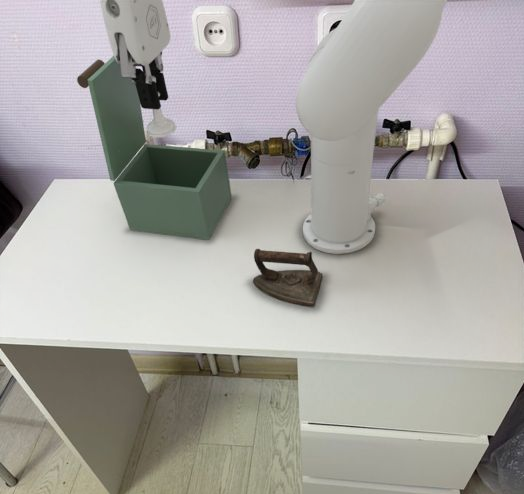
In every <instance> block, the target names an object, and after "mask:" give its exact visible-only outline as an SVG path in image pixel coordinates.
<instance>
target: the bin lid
mask: <svg viewBox="0 0 524 494" xmlns="http://www.w3.org/2000/svg"><path fill="white" fill-rule="evenodd" d="M76 82H77V84H78V85H79V87H81V88H82V89H87V88H88V89H89V94H90V99H91V102H92V107H93V110H94V115H95V119H96V123H97V128H98V132H99V137H100V141H101V146H102V150H103V155H104V159H105V163H106V167H107V172H108V176H109V180H110V181H112V182H115V181H116V179H117V178H118V177H119V176H120V175H121V173H122V172H123V171H124V170H125V168H126V167H127V166H128V165H129V163H130V162H131V161H132V160H133V158H134V157H135V156H136V155H137V153H138V152H139V151H140V150H141V148H142V147H143V146H144V145H145V144H147V140H146V133H145V126H144V119H143V113H142V107H141V104H140V100H139V96H138V93H137V89H136V85H135V83H133V82H132V79H131V78H125V77H122V74H121V64H119V63H118V62H117V61H116V59H115V57H114V55H113V56H112V57H111V58H109V60H107V61H106V62H104V61H103V60H102V59H96V60H95V61H94V62H93V63H92V64H91V65H89V66H88V67H87V68H86V69H85V70H84V71H83V72H81V74H79V75H78V76H77V78H76Z"/></svg>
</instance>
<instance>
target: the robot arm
mask: <svg viewBox="0 0 524 494" xmlns="http://www.w3.org/2000/svg"><path fill="white" fill-rule="evenodd" d="M447 1H448V0H354V1H353V3H352V4H351V6H350V7H349V8H348V10H347V12H346V13H345V14H344V16H343V18H342V19H341V20H340V22H339V24H338V25H337V27H335V28H333V29H332V30H331V31H329V32H328V33H327V34H326V35H325V36H324V37H323V38H322V39H321V40H320V42H319V44H318V45H317V46H316V48H315V49H314V52H313V54H312V56H311V57H310V59H309V61H308V63H307V66H306V68H305V70H304V73H303V74H302V75H301V78H300V80H299V83H298V85H297V90H296V94H295V109H296V114H297V117H298V120H299V122H300V124H301V126H302V127H303V128H304V130H305V131H306V133H308V134H309V135H310V186H311V187H310V191H311V192H310V194H311V197H310V199H311V200H310V203H311V207H310V208H311V212H310V213H309V215H307V216H306V218H305V219H304V221H303V224H302V234H303V238H304V240H305V241H306V242H307V244H308V245H310V246H311V247H312V248H313V249H316V250H318V251H320V252H324V253H326V254H327V253H328V254H333V255H342V254H343V255H344V254H350V253H354V252H357V251H361V249H363V248H365V247H366V246H367V245H369V244H370V243H371V242H372V240H373V239H374V236H375V234H376V233H375V232H376V223H375V219H373V217H372V216H371V214H372V213H373V212H374V210H375V208H378V207H380V206H381V205H383V204H384V203H385V202H386V197H385V195H384V193H382V192H378V193H376V194H374V195H373V196H372V197H370V193H371V185H372V184H371V183H372V174H373V173H372V172H373V162H374V151H375V144H376V135H377V124H378V118H379V117H378V116H379V109H380V108H381V107H382V106H383V105H384V104H385V103H386V102H387V100H388V99H389V98H390V97H391V96H392V95H393V93H395V91H396V90H397V89H398V88H399V87H400V86H401V84H402V83H403V82H404V81H405V80H406V79H407V78H408V77H409V75H410V74H411V73H412V72H413V71H414V70H415V68H417V66H418V64H420V63H421V61H422V60H423V59H424V57H425V55H426V54H427V53H428V51H429V49H430V48H431V46H432V44H433V42H434V40H435V38H436V36H437V34H438V31H439V29H440V25H441V21H442V17H443V11H444V9H445V6H446V4H447ZM99 2H100V3H99V4H100V8H101V12H102V16H103V22H104V26H105V31H106V34H107V38H108V41H109V45H110V48H111V51H112V54H113V56H114V57H115V59H116V61H117V62H118V63H119V64H121V74H122V77H125V78H131V79H132V82H133V83H135V85H136V89H137V93H138V96H139V100H140V105H141V109H145V110H153V109H160V108H161V107H162V104H161V101H164V102H165V101H168V99H169V93H168V89H167V85H166V80H165V79H166V78H165V76H164V63H163V59H162V57H163V51H164V49H166V47H167V46H168V45H169V43H170V42H171V31H170V27H169V23H168V22H169V21H168V18H167V14H166V10H165V6H164V2H163V0H99ZM138 67H141V68H142V69H141V68H138ZM152 76H154V77H155V78H156V83H155V81H152ZM158 92H159V94H160V96H159V95H158Z"/></svg>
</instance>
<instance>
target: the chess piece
mask: <svg viewBox="0 0 524 494" xmlns="http://www.w3.org/2000/svg"><path fill="white" fill-rule="evenodd" d="M152 81H155V83H156V78H155V77H154V76H152ZM158 95H159V96H160V94H159V92H158ZM152 114H153V115H152V116H153V117H152V118H153V119H152V121H150V122H149V123H148V124H147V125H146V127H145V128H146V134H147V135H148V136H149V137H152V138H166V137H168V136H170V135H173V134H174V133H175V132H176V130H177V125H176V122H175V121H174V120H173V119H172V118H167V117H165V116H164V114H163V111H162V109H161V107H160V109H152Z"/></svg>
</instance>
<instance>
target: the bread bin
mask: <svg viewBox="0 0 524 494" xmlns="http://www.w3.org/2000/svg"><path fill="white" fill-rule="evenodd" d="M113 186H114V190H115V192H116V194H117V195H116V196H117V197H118V200H119V203H120V206H121V209H122V212H123V214H124V217H125V220H126V223H127V225H128V228H129V230H130V231H133V232H142V233H149V234H158V235H166V236H172V237H173V236H174V237H181V238H189V239H197V240H203V241H210V240H211V237H212V236H213V234H214V232H215V230H216V228H217V227H218V225H219V223H220V221H221V219H222V218H223V215H224V214H225V212H226V210H227V209H228V206H229V204H230V203H231V201H232V199H233V196H232V189H231V183H230V176H229V169H228V163H227V157H226V150H223V149H214V148H213V149H211V148H201V147H200V148H199V147H188V146H187V147H186V146H174V145H161V144H149V143H145V144H144V145H143V146H142V148H141V149H140V150H139V151H138V153H137V154H136V155H135V156H134V157H133V159H132V160H131V161H130V162H129V164H128V165H127V166H126V167H125V169H124V170H123V171H122V172H121V174H120V175H119V176H118V177H117V179H116V180H115V181H113Z"/></svg>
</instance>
